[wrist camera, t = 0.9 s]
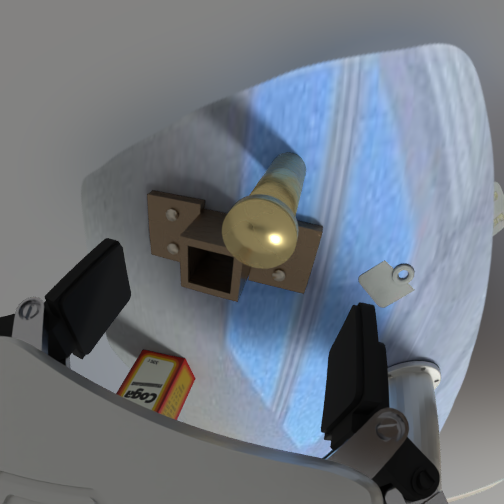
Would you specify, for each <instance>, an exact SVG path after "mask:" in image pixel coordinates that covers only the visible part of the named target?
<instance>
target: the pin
mask: <svg viewBox="0 0 504 504" xmlns="http://www.w3.org/2000/svg"><path fill="white" fill-rule="evenodd" d="M305 174H306V166H305V163H304V161H303V160H302V158H300V157H299V156H298V155H296V154H294V153H282V154H280V155H278V156H277V157H276V158H275V159H274V161H273V162H272V164H271V165H270V166H269V168H268V169H267V171H266V172H265V174H264V175H263V176H262V178H261V179H260V181H259V182H258V184H257V185H256V187H255V188H254V189H253V191H252V192H251V194H250V195H249V196H247V197H244V198H242V199H241V200H239V201H238V202H237V203H236V204H235V205H234V206H233V207H232V209H231V210H230V211H229V213H228V214H227V215H226V217H225V219H224V221H223V225H222V237H223V241H224V243H225V246H226V247H227V249H228V251H229V252H230V253H231V254H232V255H233V256H234V257H235V258H236V259H237V260H239V261H240V262H242V263H244V264H246V265H248V266H251V267H254V268H262V269H266V268H273V267H276V266H279V265H281V264H283V263H284V262H286V261H287V260H288V259H289V258H290V257H291V255H292V254H293V252H294V250H295V247H296V243H297V238H298V232H299V228H298V222H297V219H296V217H295V216H296V211H297V207H298V203H299V199H300V195H301V191H302V186H303V182H304V178H305Z"/></svg>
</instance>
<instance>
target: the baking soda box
mask: <svg viewBox="0 0 504 504" xmlns="http://www.w3.org/2000/svg"><path fill="white" fill-rule="evenodd" d="M194 380H195V377H194V375H193V373H192V371H191V369H190V367H189V365H188V363H187V361H186V359H185V358H181V357H176V356H171V355H166V354H161V353H156V352H152V351H147V350H142V352H141V353H140V355H139V357H138V358H137V360H136V362H135V363H134V365H133V367H132V368H131V370H130V372H129V373H128V375H127V377H126V378H125V380H124V381H123V383H122V385H121V387H120V388H119V390H118V392H117V393H116V394H117V395H119V396H121V397H123V398H126V399H128V400H130V401H132V402H134V403H136V404H139V405H141V406H143V407H145V408H148V409H150V410H152V411H155V412H157V413H160V414H162V415H165V416H167V417H170V418H172V419H175V420H177V418H178V416H179V414H180V412H181V409H182V407H183V405H184V403H185V400H186V398H187V396H188V394H189V391H190V389H191V387H192V385H193V382H194Z"/></svg>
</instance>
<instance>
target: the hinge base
mask: <svg viewBox="0 0 504 504" xmlns="http://www.w3.org/2000/svg"><path fill="white" fill-rule="evenodd" d="M147 199H148V217H149V231H150V243H151V254H153V255H156V256H160V257H163V258H167V259H171V260H174V261H178V262H180V269H181V286H182V287H186V288H189V289H193V290H196V291H200V292H203V293H207V294H210V295H214V296H217V297H221V298H225V299H228V300H232V301H236V302H238V300H239V297H240V295H241V292H242V290H243V288H244V285H245V283H246V280H247V278H248V276H249V280H250V281H254V282H258V283H262V284H266V285H270V286H274V287H278V288H283V289H287V290H291V291H295V292H299V293H303V294H304V292H305V289H306V286H307V282H308V279H309V276H310V273H311V270H312V266H313V263H314V260H315V256H316V253H317V250H318V246H319V243H320V239H321V236H322V232H323V226H319V225H315V224H311V223H307V222H303V221H298V220H297V222H298V228H299V232H298V238H297V243H296V247H295V250H294V252H293V254H292V255H291V257H290V258H289V259H288V260H287V261H286V262H284V263H283V264H281V265H279V266H276V267H273V268H266V269H262V268H254V267H251V266H248V265H246V264H244V263H242V262H240V261H239V260H237V259H236V258H235V257H234V256H233V255H232V254H231V253H230V252H229V251H228V249H227V247H226V246H225V243H224V241H223V237H222V225H223V221H224V219H225V217H226V215H227V213H223V212H218V211H213V210H208V209H204V206H205V200H201V199H196V198H191V197H186V196H181V195H175V194H170V193H164V192H159V191H151V192H150V193H149V194H147Z"/></svg>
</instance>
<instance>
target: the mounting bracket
mask: <svg viewBox="0 0 504 504" xmlns="http://www.w3.org/2000/svg"><path fill="white" fill-rule="evenodd" d="M493 218H494V219H493V236H494V235H495V234H496V233H498V232H499V231H500V230H501V229H503V228H504V194H503V192H502V189H501V186H500V184H499V183H498V182H494V217H493ZM402 270H407V271H408V272H409V275H408V277H407V278H405V279H403V278H400V277H399V276H398V273H399V272H400V271H402ZM413 277H414V269H413V267H412V266H411V265H408V264H401V265H399V266H397V267H396V268H395V269H393V268H392V267H391V266H390V265H389V264H388V263H387V262H386V261H383V262H381V263H380V264H378V265H377V266H375V267H373V268H372V269H370V270H369V271H367V272H365V273H364V274H362V275H360V276H359V283H360V284H361V286H362V287H363V288H364V289H365V290H366V292H367V293H368V294H369V295H370V297H371V298H372V299H373V300H374V301H375V303H376V304H377V305H378V306H379V307H382V308H384V307H387V306H388V305H390V304H392V303H394V302H395V301H397V300H399V299H401V298H402V297H404V296H406V295H407V294H409V293H411V292H412V291H414V289H413V288H412V287H411V286H410V285H409V284H408V283H409V282H410V281H411V280H412V279H413Z"/></svg>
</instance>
